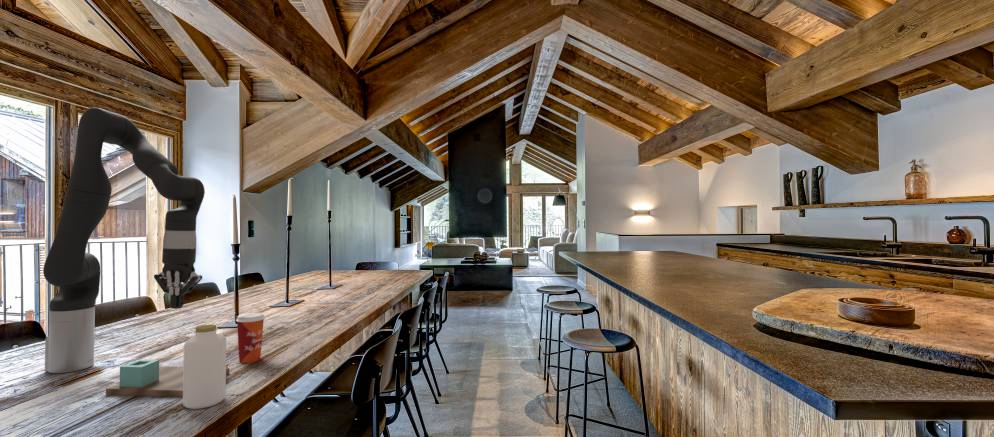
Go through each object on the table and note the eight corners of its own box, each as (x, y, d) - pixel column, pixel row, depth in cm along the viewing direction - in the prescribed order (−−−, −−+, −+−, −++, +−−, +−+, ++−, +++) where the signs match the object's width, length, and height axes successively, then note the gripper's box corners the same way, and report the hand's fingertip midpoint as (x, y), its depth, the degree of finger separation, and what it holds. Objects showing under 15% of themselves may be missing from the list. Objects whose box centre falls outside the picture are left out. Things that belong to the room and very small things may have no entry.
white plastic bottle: (197, 395, 102) (198, 322, 102) (232, 395, 103) (234, 322, 103) (173, 411, 94) (175, 331, 94) (212, 410, 95) (214, 331, 95)
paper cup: (250, 365, 124) (251, 318, 124) (228, 363, 126) (229, 316, 126) (270, 357, 132) (270, 312, 132) (249, 355, 133) (250, 311, 133)
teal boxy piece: (119, 386, 103) (119, 366, 103) (138, 378, 109) (139, 359, 109) (140, 387, 103) (141, 367, 103) (158, 379, 109) (159, 359, 109)
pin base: (105, 394, 102) (106, 370, 102) (160, 371, 118) (160, 350, 118) (185, 396, 102) (185, 372, 102) (229, 373, 118) (229, 351, 118)
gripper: (145, 246, 114) (142, 309, 114) (191, 248, 113) (188, 312, 113) (168, 245, 122) (165, 304, 121) (212, 246, 121) (209, 306, 121)
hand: (176, 308), depth 117 cm, fingers closed
